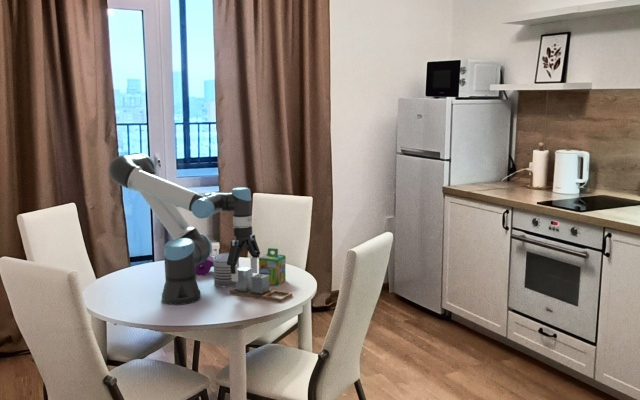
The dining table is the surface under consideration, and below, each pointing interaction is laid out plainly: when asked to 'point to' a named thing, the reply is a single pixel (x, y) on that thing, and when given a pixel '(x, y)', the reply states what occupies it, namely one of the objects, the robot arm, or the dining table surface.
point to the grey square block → (244, 280)
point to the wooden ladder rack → (266, 296)
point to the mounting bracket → (204, 267)
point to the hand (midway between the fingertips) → (244, 276)
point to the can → (223, 271)
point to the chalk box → (273, 266)
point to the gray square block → (260, 284)
